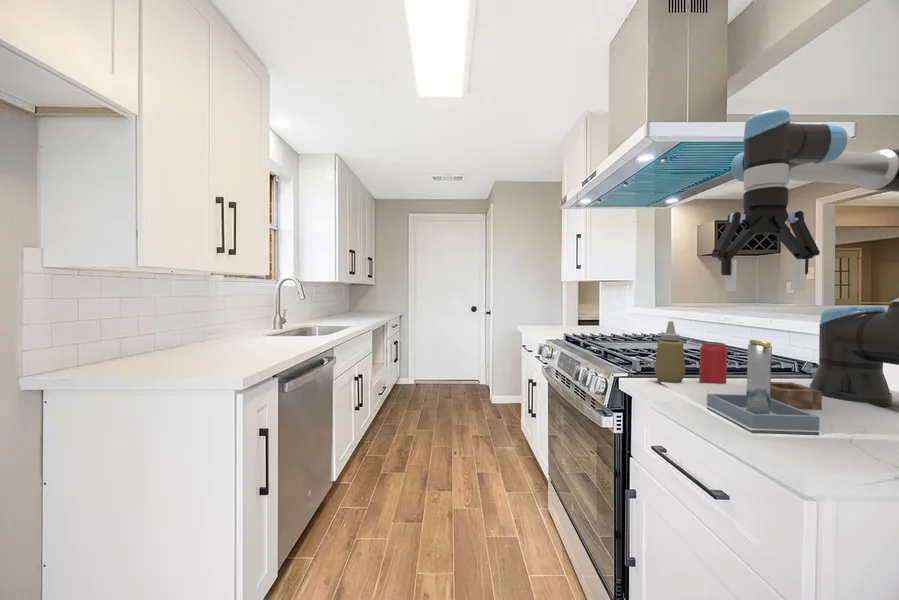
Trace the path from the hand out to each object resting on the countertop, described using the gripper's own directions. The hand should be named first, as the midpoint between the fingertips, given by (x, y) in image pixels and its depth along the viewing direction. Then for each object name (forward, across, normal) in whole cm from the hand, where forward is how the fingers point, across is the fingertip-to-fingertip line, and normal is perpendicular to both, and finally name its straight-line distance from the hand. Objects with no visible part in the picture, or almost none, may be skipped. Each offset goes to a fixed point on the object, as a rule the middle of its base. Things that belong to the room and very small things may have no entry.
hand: (763, 291), depth 88 cm
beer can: (+28, -8, -32) cm, 43 cm away
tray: (+27, +2, +2) cm, 27 cm away
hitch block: (+27, -11, -9) cm, 31 cm away
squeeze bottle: (+27, +4, -32) cm, 43 cm away
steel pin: (+26, +2, +2) cm, 26 cm away
